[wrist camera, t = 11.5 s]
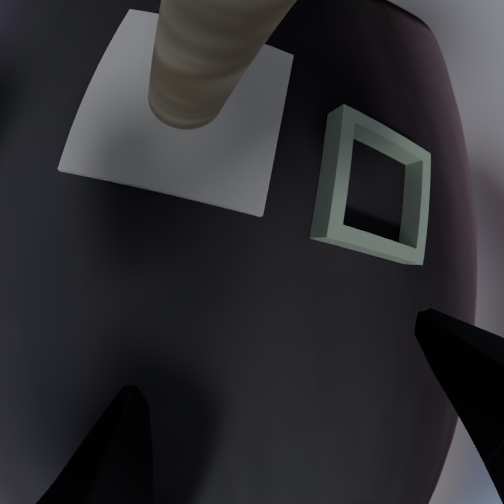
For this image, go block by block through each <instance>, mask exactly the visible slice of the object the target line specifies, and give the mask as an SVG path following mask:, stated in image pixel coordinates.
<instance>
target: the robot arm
mask: <svg viewBox="0 0 504 504" xmlns="http://www.w3.org/2000/svg"><path fill="white" fill-rule="evenodd" d="M415 336H416V338H417V340H418V342H419V344H420V346H421V348H422V350H423V353H424V355H425V357H426V359H427V361H428V363H429V365H430V367H431V369H432V371H433V373H434V375H435V376H436V378H437V380H438V381H439V383H440V385H441V386H442V388H443V390H444V391H445V393H446V395H447V396H448V398H449V400H450V401H451V403H452V405H453V407H454V408H455V410H456V412H457V414H458V415H459V417H460V419H461V421H462V422H463V424H464V426H465V428H466V430H467V431H468V433H469V435H470V437H471V439H472V441H473V443H474V445H475V446H476V448H477V450H478V452H479V454H480V456H481V458H482V460H483V462H484V464H485V466H486V469H487V471H488V473H489V475H490V477H491V479H492V481H493V483H494V485H495V487H496V489H497V492H498V494H499V496H500V498H501V501H502V503H503V504H504V338H502V337H500V336H498V335H495V334H493V333H491V332H488V331H486V330H483V329H481V328H478V327H476V326H473V325H471V324H469V323H466V322H464V321H461V320H459V319H456V318H454V317H451V316H449V315H446V314H444V313H441V312H439V311H436V310H434V309H431V308H426V309H424V310H421V311H419V312H418V314H417V319H416V325H415ZM36 504H153V453H152V438H151V428H150V417H149V406H148V402H147V400H146V399H145V397H144V396H143V394H142V393H141V391H140V390H139V388H138V387H137V386H136V385H128V386H123V387H122V388H121V390H120V391H119V392H118V394H117V395H116V396H115V398H114V399H113V401H112V402H111V403H110V405H109V406H108V407H107V409H106V410H105V412H104V413H103V414H102V416H101V417H100V418H99V420H98V421H97V423H96V424H95V425H94V427H93V428H92V429H91V431H90V432H89V434H88V435H87V436H86V438H85V439H84V441H83V442H82V443H81V445H80V446H79V448H78V449H77V450H76V452H75V453H74V455H73V456H72V457H71V459H70V460H69V462H68V463H67V466H65V467H64V469H63V470H62V472H61V473H60V474H59V476H58V477H57V478H56V480H55V481H54V482H53V484H52V485H51V486H50V488H49V489H48V490H47V491H46V492H45V494H44V495H43V496H42V497H41V498H40V499H39V501H38V502H37V503H36Z"/></svg>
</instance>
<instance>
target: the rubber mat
mask: <svg viewBox="0 0 504 504" xmlns="http://www.w3.org/2000/svg"><path fill="white" fill-rule="evenodd" d="M158 17H159V14H156V13H150V12H144V11H138V10H132V9H130V10H129V11H128V13H127V15H126V16H125V18H124V20H123V21H122V23H121V25H120V26H119V28H118V30H117V31H116V33H115V35H114V37H113V39H112V40H111V42H110V44H109V46H108V48H107V50H106V52H105V53H104V55H103V57H102V59H101V61H100V63H99V65H98V67H97V69H96V71H95V73H94V76H93V78H92V80H91V82H90V84H89V86H88V89H87V91H86V93H85V95H84V98H83V100H82V103H81V105H80V107H79V110H78V112H77V115H76V117H75V120H74V123H73V125H72V128H71V131H70V133H69V136H68V139H67V142H66V145H65V148H64V151H63V154H62V157H61V160H60V163H59V167H58V170H59V171H61V172H66V173H71V174H76V175H81V176H86V177H91V178H96V179H100V180H105V181H110V182H114V183H119V184H124V185H128V186H133V187H137V188H142V189H146V190H151V191H155V192H160V193H164V194H168V195H173V196H177V197H181V198H185V199H190V200H194V201H198V202H202V203H206V204H210V205H214V206H219V207H223V208H227V209H231V210H235V211H239V212H243V213H246V214H250V215H254V216H258V217H261V216H263V213H264V208H265V203H266V197H267V192H268V187H269V182H270V177H271V172H272V166H273V161H274V156H275V151H276V146H277V140H278V135H279V130H280V125H281V119H282V114H283V109H284V104H285V98H286V93H287V88H288V83H289V77H290V72H291V67H292V61H293V56H294V55H292V54H289V53H287V52H284V51H282V50H279V49H277V48H274V47H272V46H269V45H266V44H264V45H263V47H262V48H261V50H260V51H259V52H258V54H257V55H256V57H255V58H254V60H253V61H252V63H251V64H250V66H249V67H248V69H247V70H246V72H245V73H244V75H243V76H242V78H241V79H240V81H239V82H238V84H237V85H236V87H235V89H234V90H233V92H232V93H231V95H230V96H229V98H228V100H227V101H226V103H225V104H224V106H223V108H222V109H221V111H220V113H219V114H218V116H217V117H216V118H215V119H214V120H213V121H211V122H210V123H209V124H207V125H205V126H202V127H200V128H196V129H177V128H173V127H171V126H168V125H166V124H164V123H163V122H161V121H160V120H159V119H158V118H157V117H156V116H155V115H154V114H153V112H152V111H151V108H150V106H149V102H148V91H149V81H150V72H151V64H152V56H153V49H154V42H155V35H156V29H157V23H158Z"/></svg>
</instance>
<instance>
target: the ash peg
mask: <svg viewBox="0 0 504 504" xmlns="http://www.w3.org/2000/svg"><path fill="white" fill-rule="evenodd" d="M296 1H297V0H162V1H161V6H160V11H159V17H158V23H157V29H156V35H155V42H154V49H153V56H152V64H151V72H150V81H149V91H148V102H149V106H150V108H151V111H152V112H153V114H154V115H155V116H156V117H157V118H158V119H159V120H160V121H161V122H163V123H164V124H166V125H168V126H171V127H173V128H177V129H196V128H200V127H202V126H205V125H207V124H209V123H210V122H211V121H213V120H214V119H215V118H216V117H217V116H218V114H219V113H220V111H221V109H222V108H223V106H224V104H225V103H226V101H227V100H228V98H229V96H230V95H231V93H232V92H233V90H234V89H235V87H236V85H237V84H238V82H239V81H240V79H241V78H242V76H243V75H244V73H245V72H246V70H247V69H248V67H249V66H250V64H251V63H252V61H253V60H254V58H255V57H256V55H257V54H258V52H259V51H260V50H261V48H262V47H263V45H264V44H265V42H266V41H267V40H268V38H269V37H270V35H271V34H272V33H273V31H274V30H275V28H276V27H277V26H278V24H279V23H280V22H281V20H282V19H283V18H284V16H285V15H286V14H287V12H288V11H289V10H290V8H291V7H292V6H293V5H294V3H295V2H296Z"/></svg>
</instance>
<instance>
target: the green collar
mask: <svg viewBox="0 0 504 504" xmlns="http://www.w3.org/2000/svg"><path fill="white" fill-rule="evenodd" d="M353 138H354V139H356V140H358V141H360V142H362V143H364V144H366V145H368V146H370V147H372V148H374V149H376V150H378V151H380V152H382V153H384V154H386V155H388V156H390V157H392V158H393V159H395V160H397V161H399V162H401V163H403V164H405V181H404V195H403V207H402V217H401V226H400V235H399V243H398V242H395V241H392V240H389V239H386V238H383V237H380V236H377V235H374V234H371V233H368V232H365V231H362V230H359V229H355V228H352V227H349V226H346V225H343V220H344V213H345V206H346V199H347V191H348V183H349V175H350V166H351V157H352V147H353ZM430 163H431V154H430V153H429V152H427V151H426V150H424V149H422V148H421V147H419V146H418V145H416V144H415V143H413V142H411V141H410V140H408V139H407V138H405V137H403V136H402V135H400V134H398V133H397V132H395V131H393V130H391V129H390V128H388V127H386V126H384V125H383V124H381V123H379V122H377V121H376V120H374V119H372V118H370V117H368V116H366V115H364V114H363V113H361V112H359V111H357V110H355V109H353V108H351V107H349V106H347V105H345V104H343V105H341V106H340V107H338V108H336V109H335V110H333V111H332V112H330V113H329V114H328V116H327V124H326V132H325V139H324V147H323V154H322V161H321V168H320V175H319V182H318V188H317V195H316V201H315V207H314V213H313V219H312V225H311V231H310V237H309V238H310V239H314V240H318V241H322V242H326V243H329V244H333V245H337V246H341V247H344V248H348V249H352V250H355V251H359V252H363V253H366V254H370V255H374V256H377V257H381V258H384V259H388V260H392V261H395V262H399V263H402V264H413V265H423V259H424V251H425V242H426V233H427V223H428V210H429V194H430Z"/></svg>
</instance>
